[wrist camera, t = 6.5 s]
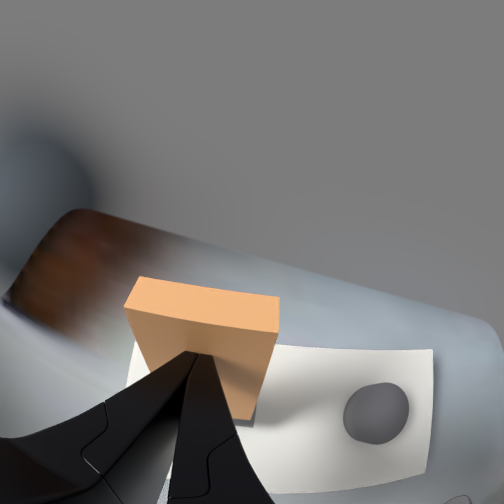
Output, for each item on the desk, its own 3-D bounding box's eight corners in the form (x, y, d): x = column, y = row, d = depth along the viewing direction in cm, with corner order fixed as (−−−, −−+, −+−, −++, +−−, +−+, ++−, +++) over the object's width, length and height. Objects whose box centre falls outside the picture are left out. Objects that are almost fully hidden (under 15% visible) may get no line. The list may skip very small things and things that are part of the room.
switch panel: (402, 467, 13) (425, 472, 10) (132, 454, 13) (115, 461, 10) (409, 358, 17) (432, 349, 15) (153, 334, 17) (140, 321, 15)
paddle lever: (251, 430, 12) (286, 340, 6) (166, 416, 12) (114, 311, 6) (254, 404, 13) (286, 292, 7) (173, 390, 13) (136, 270, 8)
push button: (394, 438, 11) (406, 440, 10) (339, 444, 12) (349, 447, 10) (397, 383, 13) (410, 380, 12) (345, 385, 13) (355, 383, 12)
